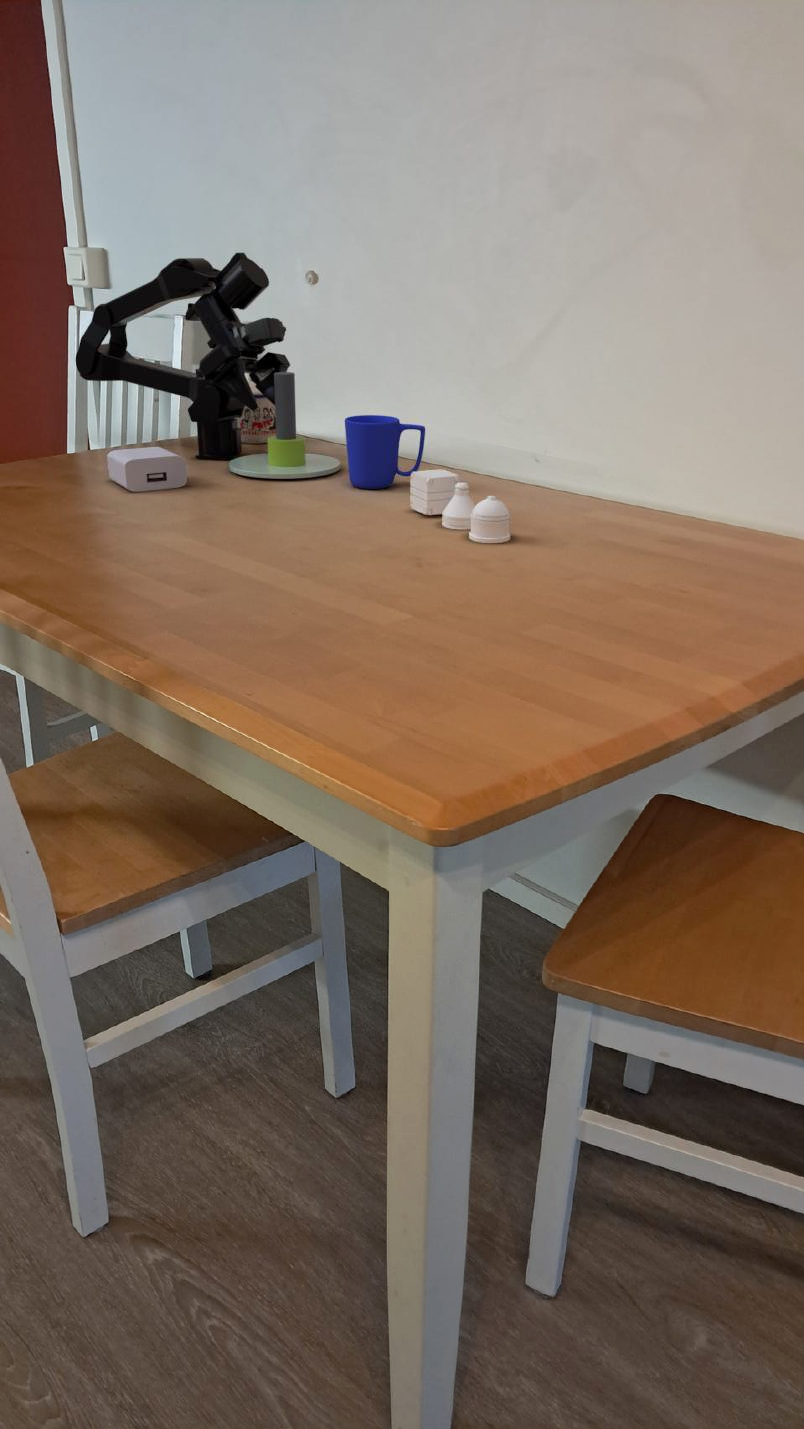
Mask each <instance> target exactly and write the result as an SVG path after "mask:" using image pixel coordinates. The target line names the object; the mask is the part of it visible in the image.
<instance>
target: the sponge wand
mask: <svg viewBox="0 0 804 1429" xmlns="http://www.w3.org/2000/svg"><path fill="white" fill-rule="evenodd" d="M295 376H296V374H295V372H292V371H287V372H276V373H274V387H275V416H276V436H271V437H268V443H267V453H268V463H269V464H270V465H273V466H280V467H293V466H301V465H304V464H305V463H306V460H305V453H306V438H305V437H304V436H302V435H297V419H296V418H297V414H296V412H297V411H296V378H295Z"/></svg>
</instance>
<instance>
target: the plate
mask: <svg viewBox="0 0 804 1429" xmlns="http://www.w3.org/2000/svg"><path fill="white" fill-rule="evenodd" d="M305 460H306V463H305V464H304V465H301V466H293V467H280V466H273V465H270V464H269V463H268V452H267V453H266V452H265V453H257V454H250V455H248V454H247V455H244V456H240V457H239V456H238V457H235V458H233V459H230V461H229V462H228V469H229V471H230V472H231V473H234V474H237V475H240V476H245V477H250V478H256V479H257V478H258V479H271V480H272V479H273V480H274V479H276V480H278V479H279V480H289V479H290V480H291V479H292V480H293V479H294V480H295V479H307V478H309V479H310V478H317V477H322V476H328V475H331V474H334V473H336V472H338V471H339V470H340V469H341V462H340V460H339V459H337V458H335V457H332V456H329V455H323V454H315V453H306V452H305Z"/></svg>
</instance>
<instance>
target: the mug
mask: <svg viewBox="0 0 804 1429" xmlns="http://www.w3.org/2000/svg"><path fill="white" fill-rule="evenodd" d="M400 421H401V420H400V419H399V418H398V417H396V416H389V415H380V414H361V415H352V416H348V417H346V418H345V419H344V428H345V429H344V431H345V442H346V454H347V455H346V456H347V466H348V467H347V468H348V477H349V482H350V484H351V485H353V487H355V488H357V489H358V488H359V489H364V490H379V489H385V488H386V489H387V488H389V487H391V486H392V485H393V484H394V482H395V478H396V475H398V476H401V477H411V474H412V472H416V471H419V468H420V466H421V463H422V458H423V454H424V448H425V447H424V446H425V438H426V427H425V426H424V425H420V424H411V423H401V422H400ZM406 430H407V431H408V430H416V431H419V432H420V435H419V446H418V453H417V458H416V461H415V464H414V465H413V467H412V468H411V469H410V470H408V471H402V470H400V469H399V450H400V449H399V448H400V441H401V436H402V433H403V432H404V431H406Z"/></svg>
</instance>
